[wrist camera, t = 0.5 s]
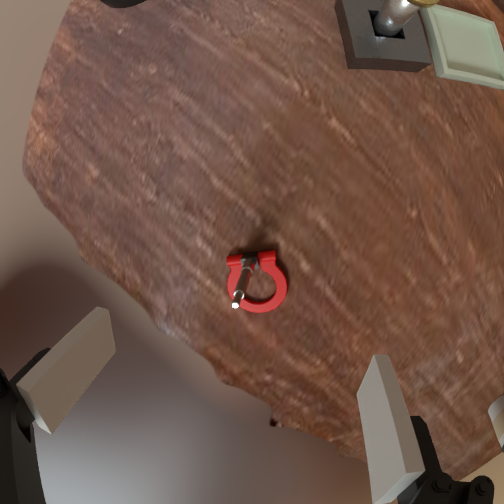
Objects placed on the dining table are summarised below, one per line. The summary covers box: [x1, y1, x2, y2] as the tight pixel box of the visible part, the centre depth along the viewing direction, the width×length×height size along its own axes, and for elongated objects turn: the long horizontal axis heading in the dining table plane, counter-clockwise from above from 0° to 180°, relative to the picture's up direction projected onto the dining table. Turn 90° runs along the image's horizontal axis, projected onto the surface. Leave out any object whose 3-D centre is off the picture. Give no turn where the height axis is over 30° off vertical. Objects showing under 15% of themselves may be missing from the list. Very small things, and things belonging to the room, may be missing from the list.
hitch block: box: [335, 0, 432, 72], centre depth 26 cm, size 10×10×5 cm
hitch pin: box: [372, 0, 440, 38], centre depth 21 cm, size 5×5×16 cm
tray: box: [419, 5, 504, 90], centre depth 25 cm, size 12×14×2 cm
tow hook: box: [227, 250, 287, 313], centre depth 36 cm, size 8×13×9 cm
